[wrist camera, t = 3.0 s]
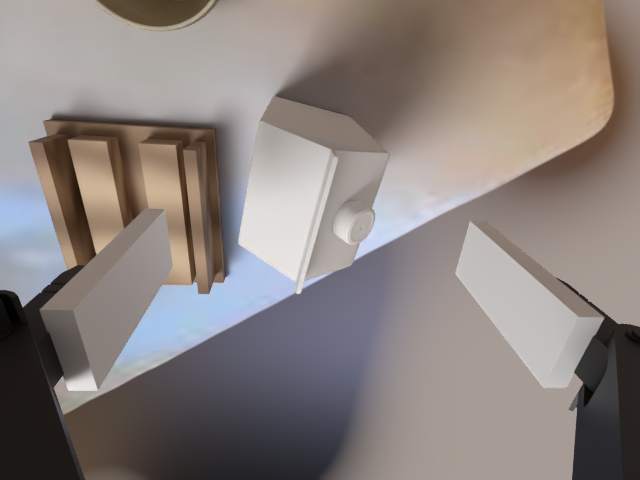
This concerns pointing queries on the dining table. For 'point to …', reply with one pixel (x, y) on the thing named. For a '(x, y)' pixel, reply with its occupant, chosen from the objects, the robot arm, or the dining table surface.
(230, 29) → the dining table surface
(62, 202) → the display stand
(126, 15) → the flower pot
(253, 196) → the milk carton
